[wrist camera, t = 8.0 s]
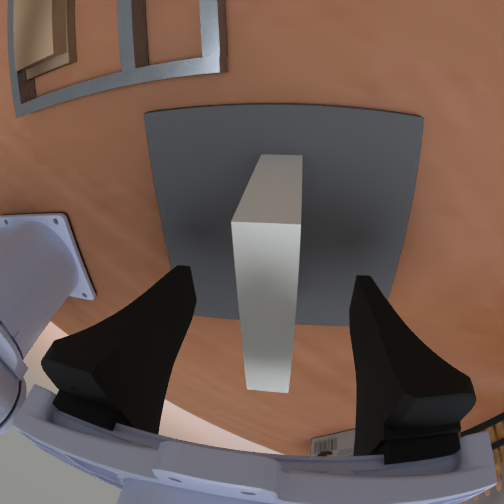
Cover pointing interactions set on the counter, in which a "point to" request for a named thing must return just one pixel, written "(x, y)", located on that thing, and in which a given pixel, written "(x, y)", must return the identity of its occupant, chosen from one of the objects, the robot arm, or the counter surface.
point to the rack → (129, 57)
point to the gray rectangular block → (268, 269)
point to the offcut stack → (43, 35)
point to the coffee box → (334, 444)
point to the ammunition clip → (492, 445)
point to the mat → (313, 195)
